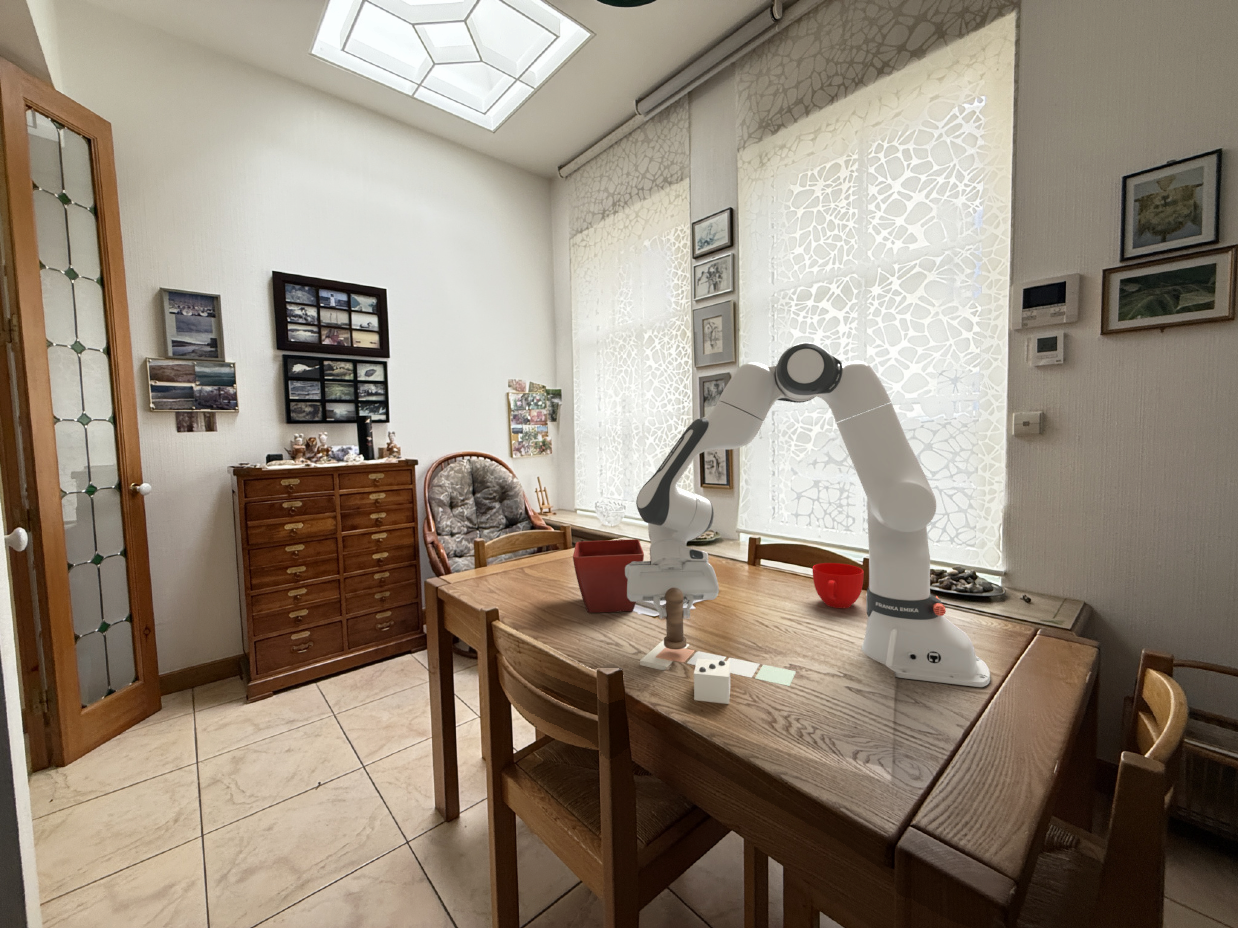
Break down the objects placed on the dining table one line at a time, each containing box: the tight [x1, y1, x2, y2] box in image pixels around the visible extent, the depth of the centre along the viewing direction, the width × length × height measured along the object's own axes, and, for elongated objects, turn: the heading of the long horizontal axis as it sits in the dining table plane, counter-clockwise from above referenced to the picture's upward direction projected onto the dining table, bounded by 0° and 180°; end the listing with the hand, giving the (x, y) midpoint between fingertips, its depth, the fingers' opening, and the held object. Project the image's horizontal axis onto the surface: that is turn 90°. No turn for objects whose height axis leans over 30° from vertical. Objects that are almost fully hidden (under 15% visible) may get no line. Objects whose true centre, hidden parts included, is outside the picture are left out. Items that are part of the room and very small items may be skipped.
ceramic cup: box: [812, 562, 865, 609], centre depth 135 cm, size 13×17×10 cm
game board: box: [639, 639, 797, 687], centre depth 101 cm, size 32×12×1 cm, turn 60°
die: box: [693, 658, 731, 705], centre depth 89 cm, size 6×6×7 cm
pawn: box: [663, 588, 687, 650], centre depth 105 cm, size 5×5×12 cm
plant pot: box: [572, 538, 645, 614], centre depth 141 cm, size 19×19×17 cm
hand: (675, 617), depth 105 cm, fingers closed on pawn, 4 cm apart
